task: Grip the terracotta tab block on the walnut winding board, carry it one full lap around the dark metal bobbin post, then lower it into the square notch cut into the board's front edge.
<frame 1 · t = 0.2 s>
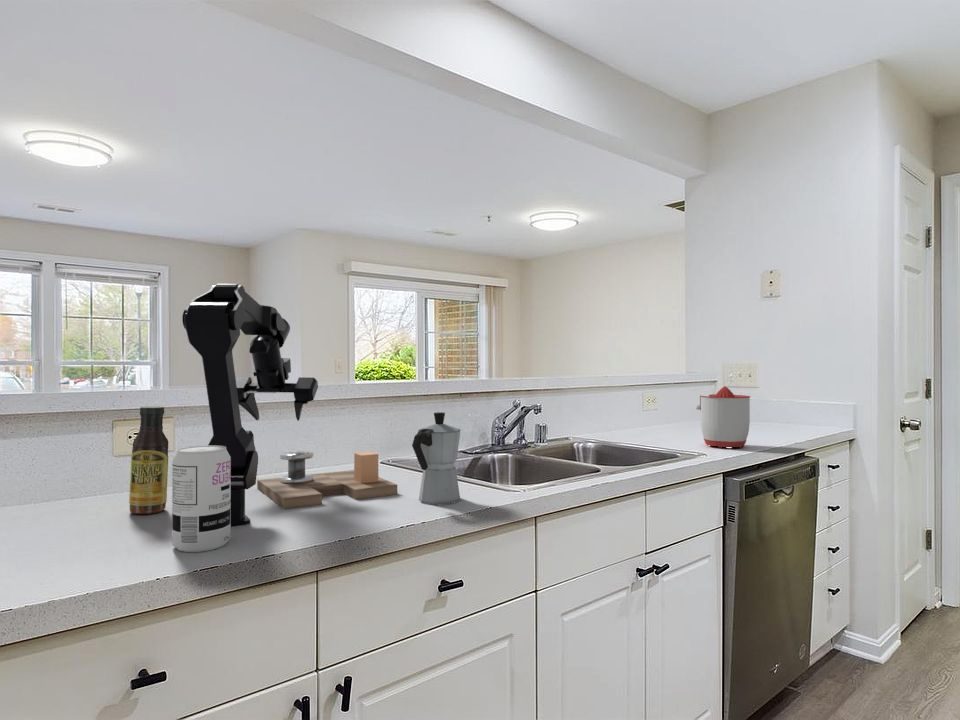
hand: (278, 419, 140), 15 cm above the worktop, tool tilted 30°, fingers open, 9 cm apart
winding board: (326, 491, 133), on the worktop
sauce bottle: (149, 512, 116), on the worktop
tab block: (366, 480, 135), point 2 cm above the worktop, touching winding board
citrus juicer: (722, 446, 204), on the worktop
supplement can: (201, 546, 95), on the worktop
coffee maker: (436, 501, 125), on the worktop
bobbin: (296, 490, 135), resting on winding board
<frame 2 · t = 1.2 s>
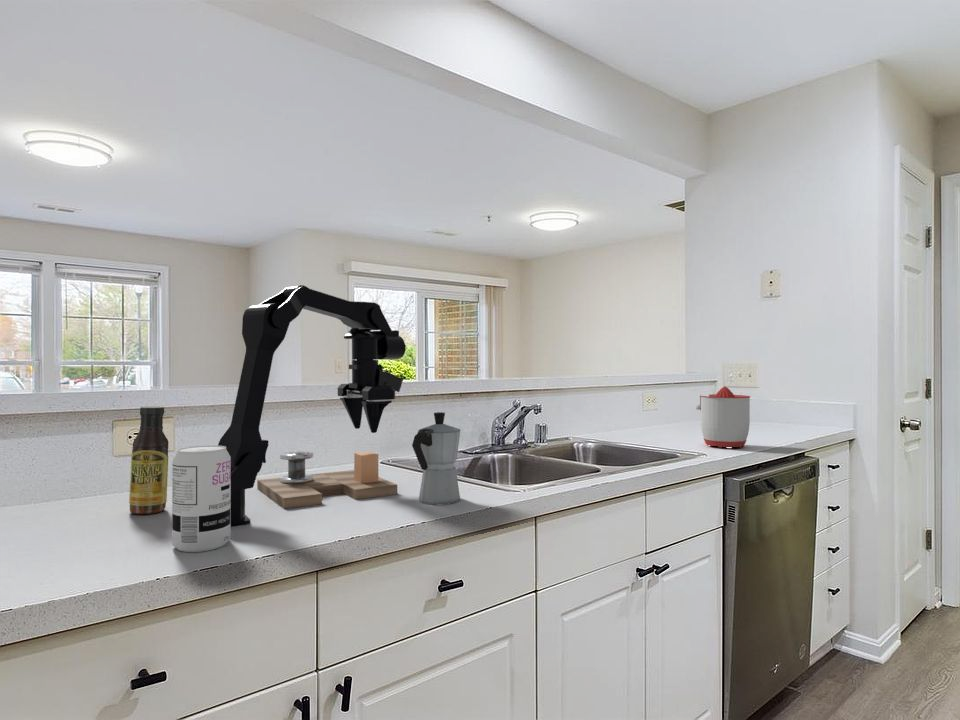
hand: (365, 430, 135), 13 cm above the worktop, tool pointing down, fingers open, 9 cm apart
nothing on the worktop moved.
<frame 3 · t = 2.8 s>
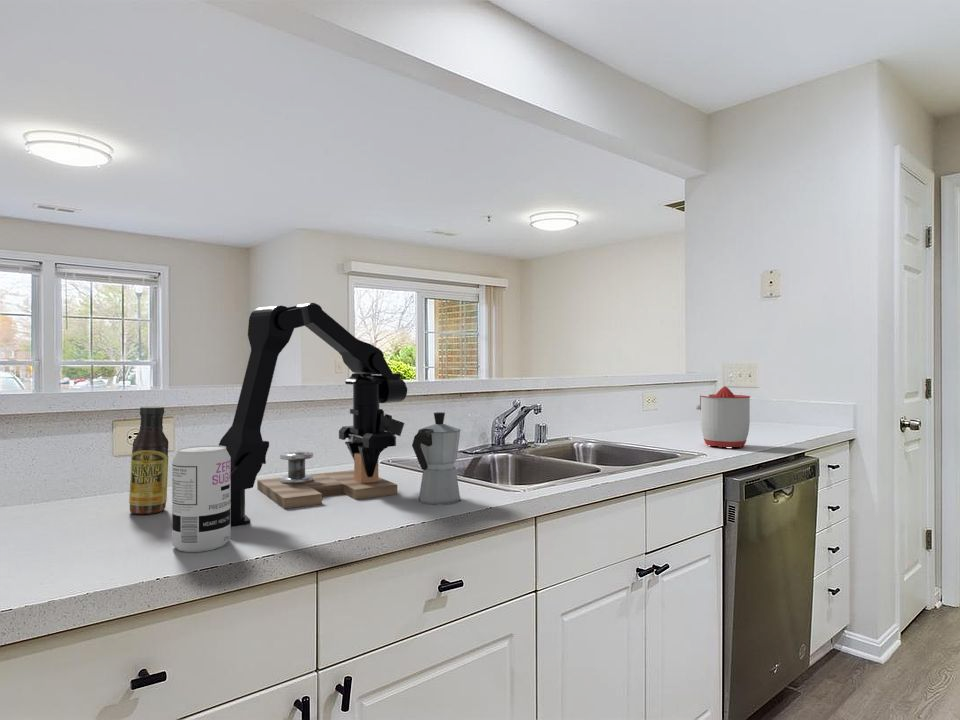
hand: (366, 475, 135), 3 cm above the worktop, tool pointing down, fingers closed on tab block, 4 cm apart
tab block: (366, 480, 135), point 2 cm above the worktop, touching gripper, winding board
everything else where it was.
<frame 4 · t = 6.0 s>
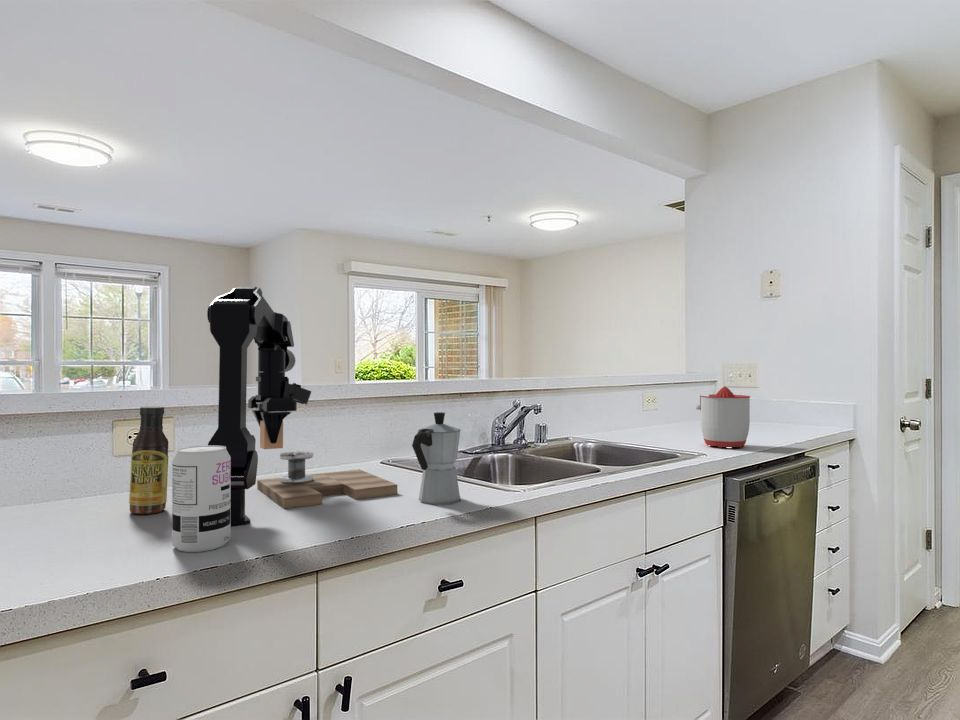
hand: (271, 442, 136), 10 cm above the worktop, tool pointing down, fingers closed on tab block, 4 cm apart
tab block: (271, 447, 136), point 9 cm above the worktop, touching gripper
everything else where it was.
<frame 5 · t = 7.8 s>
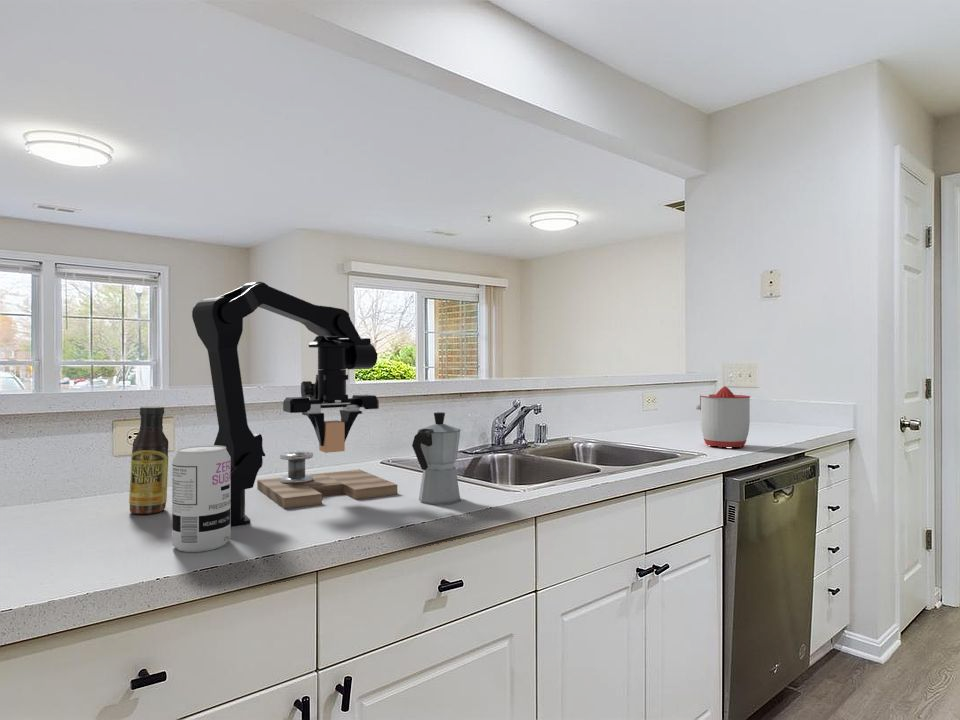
hand: (332, 445, 127), 11 cm above the worktop, tool pointing down, fingers closed on tab block, 4 cm apart
tab block: (331, 450, 127), point 10 cm above the worktop, touching gripper
everything else where it was.
when the fingers open (4 cm above the worktop, at t = 9.4 s): tab block drops 3 cm, on the worktop.
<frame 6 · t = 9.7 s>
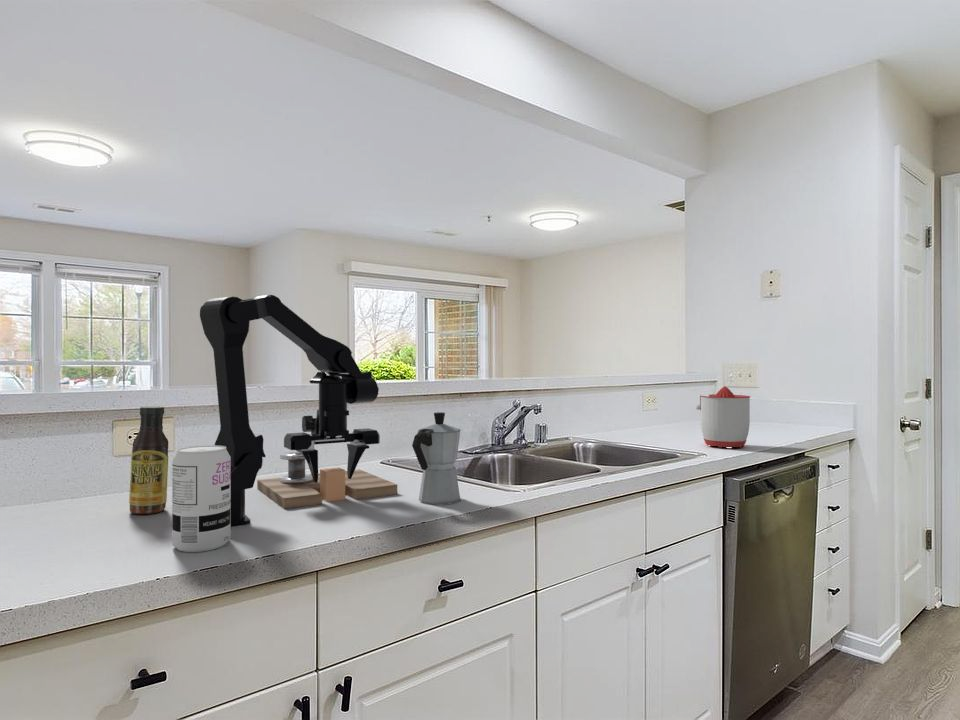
hand: (332, 480, 127), 4 cm above the worktop, tool pointing down, fingers open, 7 cm apart
tab block: (332, 498, 127), on the worktop
everything else where it was.
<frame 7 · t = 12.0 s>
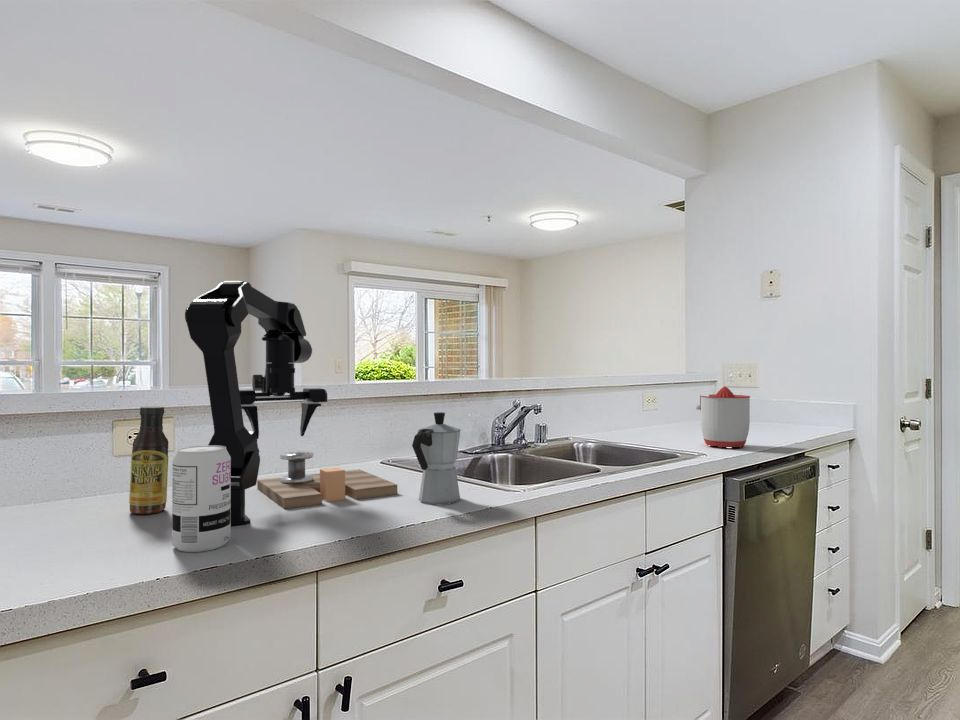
hand: (279, 437, 129), 12 cm above the worktop, tool pointing down, fingers open, 9 cm apart
nothing on the worktop moved.
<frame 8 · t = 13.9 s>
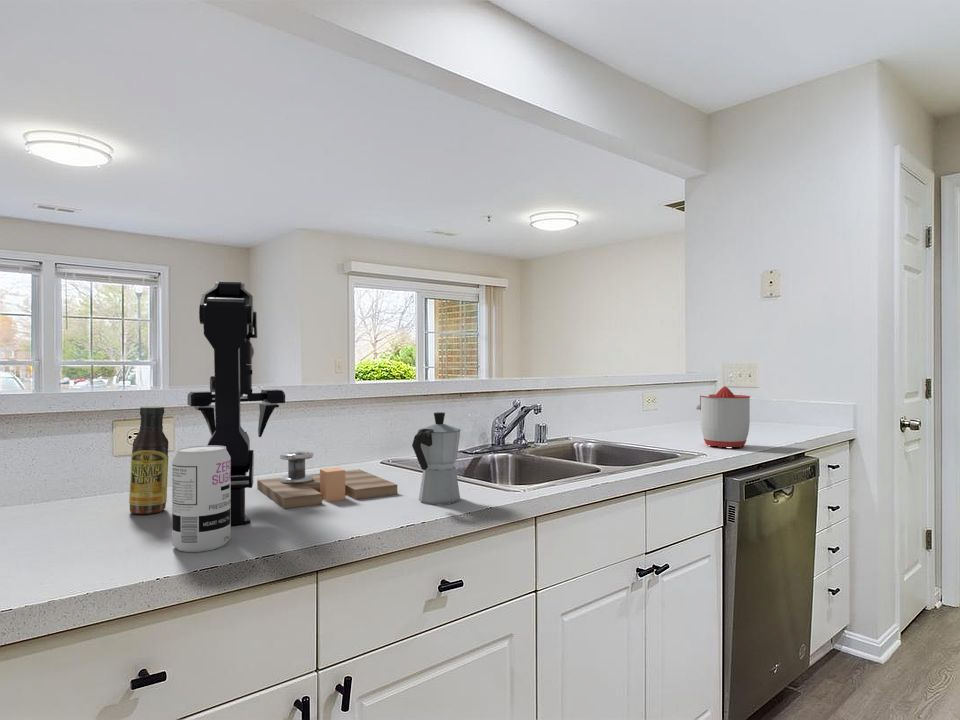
hand: (237, 438, 130), 12 cm above the worktop, tool pointing down, fingers open, 9 cm apart
nothing on the worktop moved.
at the end: tab block 0.1 cm from the target spot, on the worktop; tab block tilted 0°; the gripper is holding nothing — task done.
